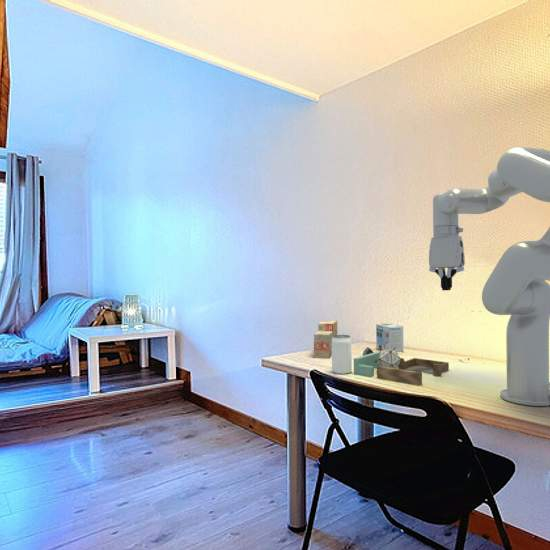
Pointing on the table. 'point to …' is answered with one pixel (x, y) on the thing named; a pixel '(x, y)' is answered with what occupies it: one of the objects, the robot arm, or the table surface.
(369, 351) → the snack package
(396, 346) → the light bulb box
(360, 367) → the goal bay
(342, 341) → the can
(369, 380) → the table surface
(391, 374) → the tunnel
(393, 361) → the game die
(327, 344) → the stack of blocks
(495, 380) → the table surface
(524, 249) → the robot arm
